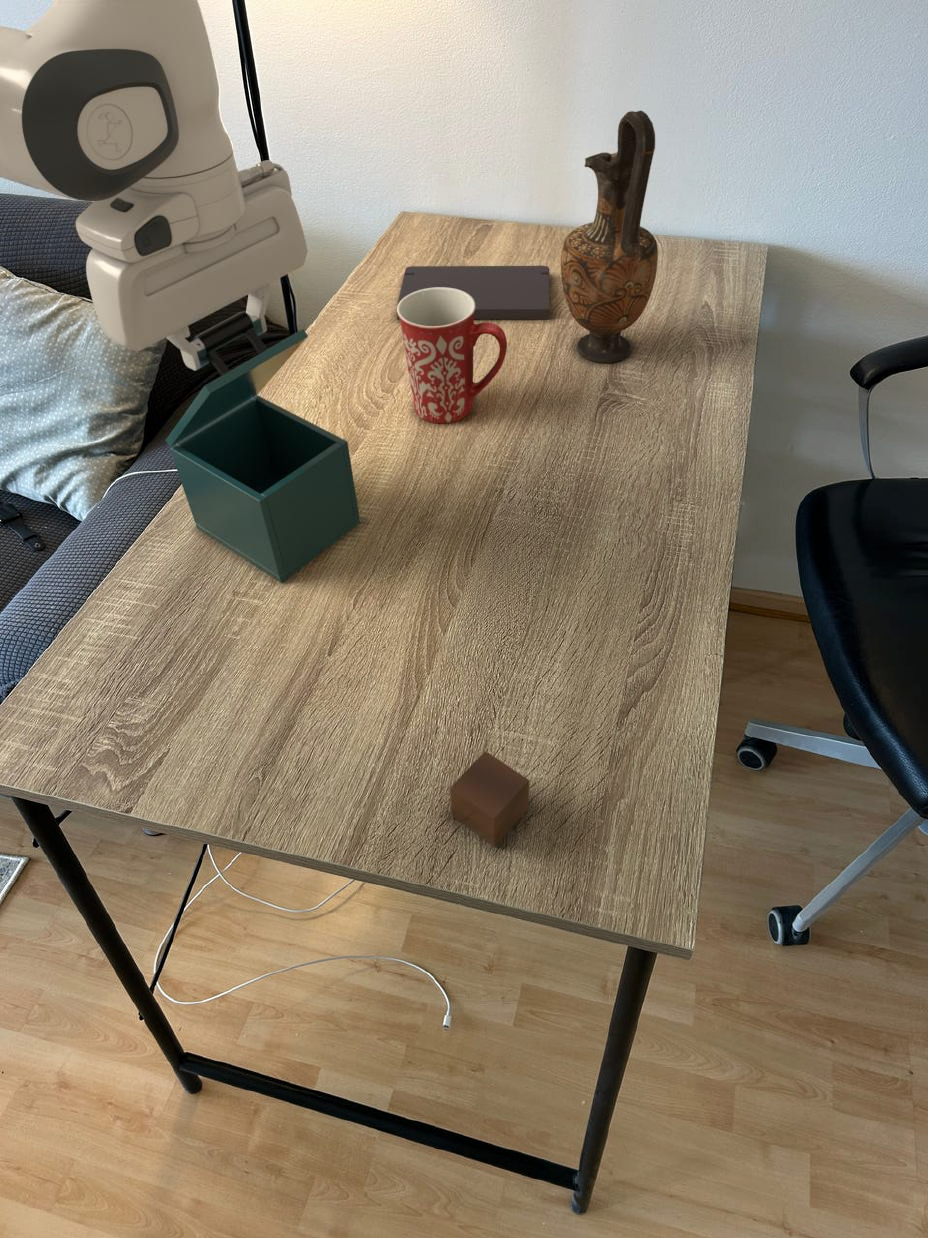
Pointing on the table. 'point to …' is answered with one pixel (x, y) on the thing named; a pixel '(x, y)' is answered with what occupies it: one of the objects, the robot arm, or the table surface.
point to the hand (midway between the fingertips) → (226, 349)
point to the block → (489, 798)
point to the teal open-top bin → (268, 485)
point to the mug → (444, 351)
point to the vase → (613, 246)
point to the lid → (233, 373)
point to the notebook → (488, 288)
